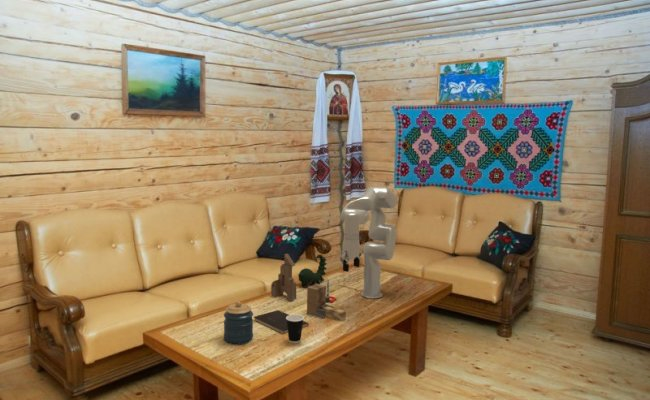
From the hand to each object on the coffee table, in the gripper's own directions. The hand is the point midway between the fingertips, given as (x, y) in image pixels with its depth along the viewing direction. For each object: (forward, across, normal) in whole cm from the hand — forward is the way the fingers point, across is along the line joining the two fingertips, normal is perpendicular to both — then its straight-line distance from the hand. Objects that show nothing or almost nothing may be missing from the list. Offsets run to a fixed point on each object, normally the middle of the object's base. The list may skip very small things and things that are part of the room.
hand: (351, 268), depth 255 cm
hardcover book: (+24, +33, -19) cm, 45 cm away
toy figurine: (+26, -26, -47) cm, 60 cm away
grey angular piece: (+24, +11, -12) cm, 29 cm away
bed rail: (+24, +10, -3) cm, 26 cm away
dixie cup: (+22, +45, 0) cm, 50 cm away
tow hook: (+25, -10, -22) cm, 35 cm away
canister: (+22, +60, -20) cm, 67 cm away
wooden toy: (+25, +3, -43) cm, 50 cm away
